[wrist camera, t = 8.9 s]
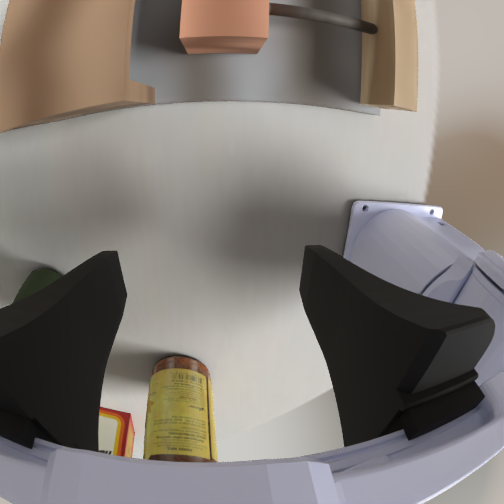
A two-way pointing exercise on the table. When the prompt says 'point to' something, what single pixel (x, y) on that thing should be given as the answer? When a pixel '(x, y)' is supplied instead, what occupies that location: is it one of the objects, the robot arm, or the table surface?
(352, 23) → the pull block
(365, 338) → the robot arm
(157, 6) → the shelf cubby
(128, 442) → the baking soda box
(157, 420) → the sauce bottle
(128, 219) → the table surface
